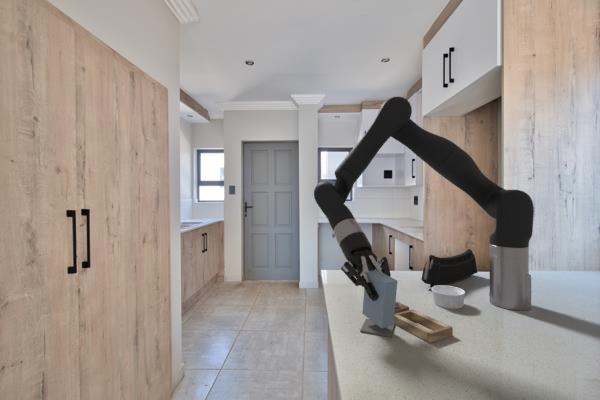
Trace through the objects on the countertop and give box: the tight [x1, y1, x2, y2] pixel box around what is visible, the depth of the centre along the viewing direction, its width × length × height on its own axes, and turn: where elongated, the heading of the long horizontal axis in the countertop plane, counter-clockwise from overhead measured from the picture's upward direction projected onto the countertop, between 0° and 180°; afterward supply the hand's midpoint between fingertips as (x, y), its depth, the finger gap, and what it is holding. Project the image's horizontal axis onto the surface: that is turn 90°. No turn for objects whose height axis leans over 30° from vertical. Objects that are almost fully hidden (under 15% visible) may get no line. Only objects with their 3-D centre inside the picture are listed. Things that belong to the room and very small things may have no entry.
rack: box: [393, 300, 454, 344], centre depth 72 cm, size 17×7×4 cm, turn 26°
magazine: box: [421, 248, 478, 288], centre depth 107 cm, size 17×3×30 cm
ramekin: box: [430, 284, 466, 310], centre depth 85 cm, size 9×9×4 cm
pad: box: [359, 318, 395, 338], centre depth 71 cm, size 7×7×1 cm
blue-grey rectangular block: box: [362, 269, 398, 328], centre depth 70 cm, size 7×4×11 cm, turn 26°
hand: (382, 297), depth 69 cm, fingers closed on blue-grey rectangular block, 3 cm apart
